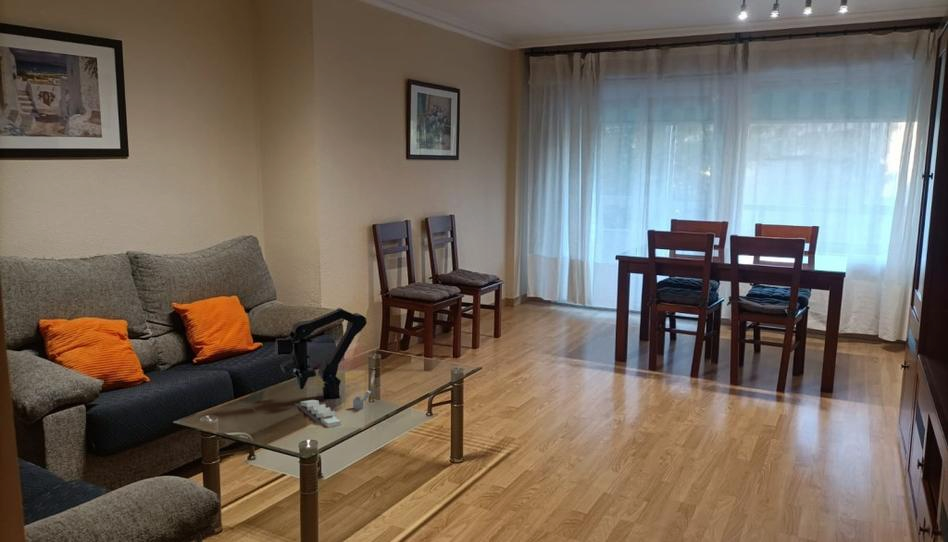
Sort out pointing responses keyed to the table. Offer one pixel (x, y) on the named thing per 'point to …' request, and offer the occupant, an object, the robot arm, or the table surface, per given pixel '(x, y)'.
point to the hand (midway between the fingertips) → (301, 389)
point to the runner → (309, 413)
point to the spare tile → (309, 403)
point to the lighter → (360, 401)
